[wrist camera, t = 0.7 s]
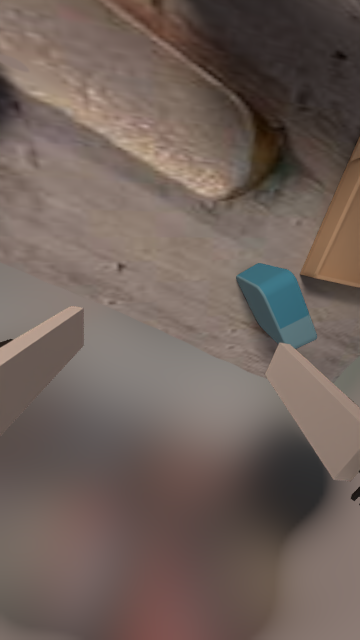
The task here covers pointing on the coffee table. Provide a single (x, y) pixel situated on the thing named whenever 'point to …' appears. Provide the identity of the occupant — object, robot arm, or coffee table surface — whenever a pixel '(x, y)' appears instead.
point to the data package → (277, 304)
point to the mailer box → (339, 232)
